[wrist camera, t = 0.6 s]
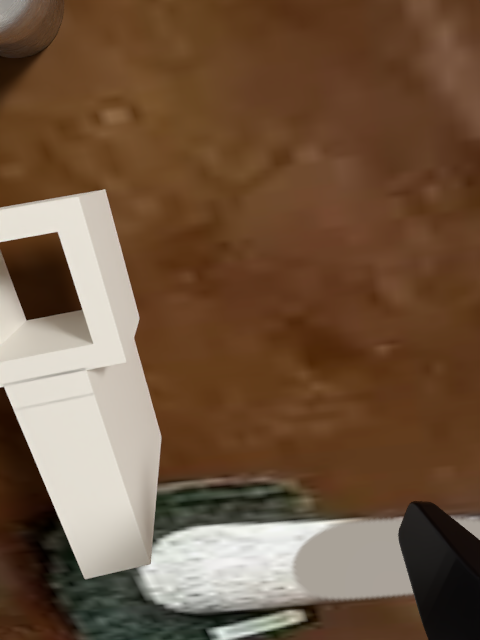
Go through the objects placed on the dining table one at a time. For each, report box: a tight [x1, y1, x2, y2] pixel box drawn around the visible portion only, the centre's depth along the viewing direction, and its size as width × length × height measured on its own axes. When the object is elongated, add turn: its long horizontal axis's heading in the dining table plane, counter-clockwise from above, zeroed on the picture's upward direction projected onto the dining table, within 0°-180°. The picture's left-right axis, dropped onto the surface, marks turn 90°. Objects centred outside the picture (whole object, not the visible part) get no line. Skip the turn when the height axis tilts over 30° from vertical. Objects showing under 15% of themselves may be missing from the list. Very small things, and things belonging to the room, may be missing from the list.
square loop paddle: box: [0, 190, 161, 579], centre depth 17 cm, size 5×13×8 cm, turn 9°
